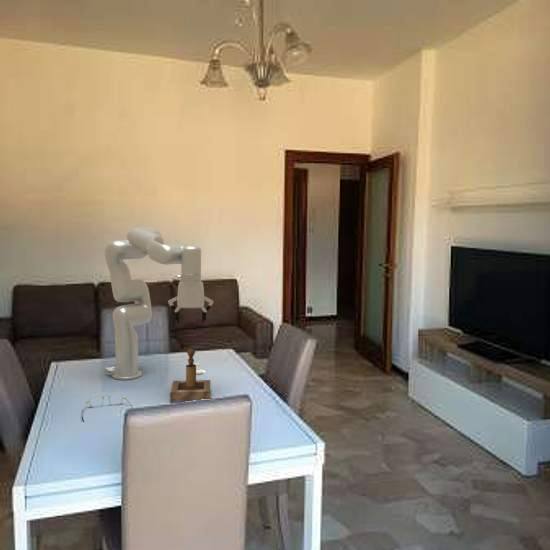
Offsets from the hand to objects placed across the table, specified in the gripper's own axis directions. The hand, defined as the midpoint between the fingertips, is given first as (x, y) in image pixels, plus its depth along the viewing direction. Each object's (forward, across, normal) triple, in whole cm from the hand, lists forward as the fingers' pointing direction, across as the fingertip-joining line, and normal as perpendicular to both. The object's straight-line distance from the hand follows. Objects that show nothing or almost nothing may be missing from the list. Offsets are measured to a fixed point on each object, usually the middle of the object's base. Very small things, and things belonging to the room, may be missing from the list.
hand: (190, 322), depth 201 cm
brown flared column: (+28, 0, 0) cm, 29 cm away
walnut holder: (+29, 0, 0) cm, 29 cm away
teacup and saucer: (+30, 0, +32) cm, 44 cm away
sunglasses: (+30, -29, -16) cm, 45 cm away
